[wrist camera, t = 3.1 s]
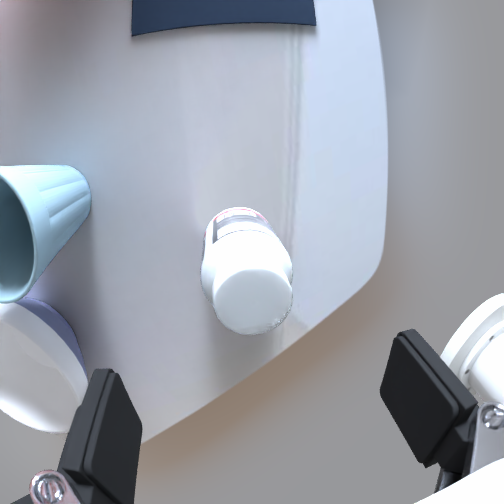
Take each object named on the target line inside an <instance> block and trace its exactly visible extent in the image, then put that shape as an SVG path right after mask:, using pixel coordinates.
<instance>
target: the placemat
mask: <svg viewBox="0 0 504 504" xmlns="http://www.w3.org/2000/svg"><path fill="white" fill-rule="evenodd" d="M235 23H283V24H301V25H314V26H316V17H315V9H314V2H313V0H133V1H132V36H136V35H141V34H146V33H151V32H157V31H163V30H170V29H177V28H185V27H193V26H204V25H216V24H235Z"/></svg>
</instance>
